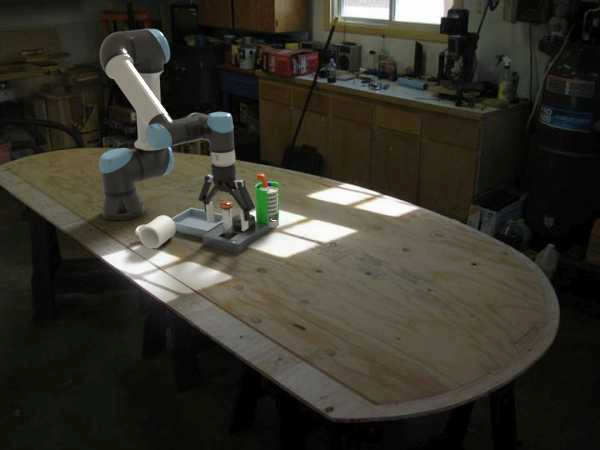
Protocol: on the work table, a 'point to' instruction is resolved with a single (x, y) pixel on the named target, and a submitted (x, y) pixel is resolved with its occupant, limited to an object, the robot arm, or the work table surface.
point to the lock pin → (227, 219)
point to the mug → (156, 231)
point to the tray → (196, 222)
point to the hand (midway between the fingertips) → (227, 225)
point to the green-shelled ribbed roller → (267, 201)
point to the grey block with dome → (236, 235)
